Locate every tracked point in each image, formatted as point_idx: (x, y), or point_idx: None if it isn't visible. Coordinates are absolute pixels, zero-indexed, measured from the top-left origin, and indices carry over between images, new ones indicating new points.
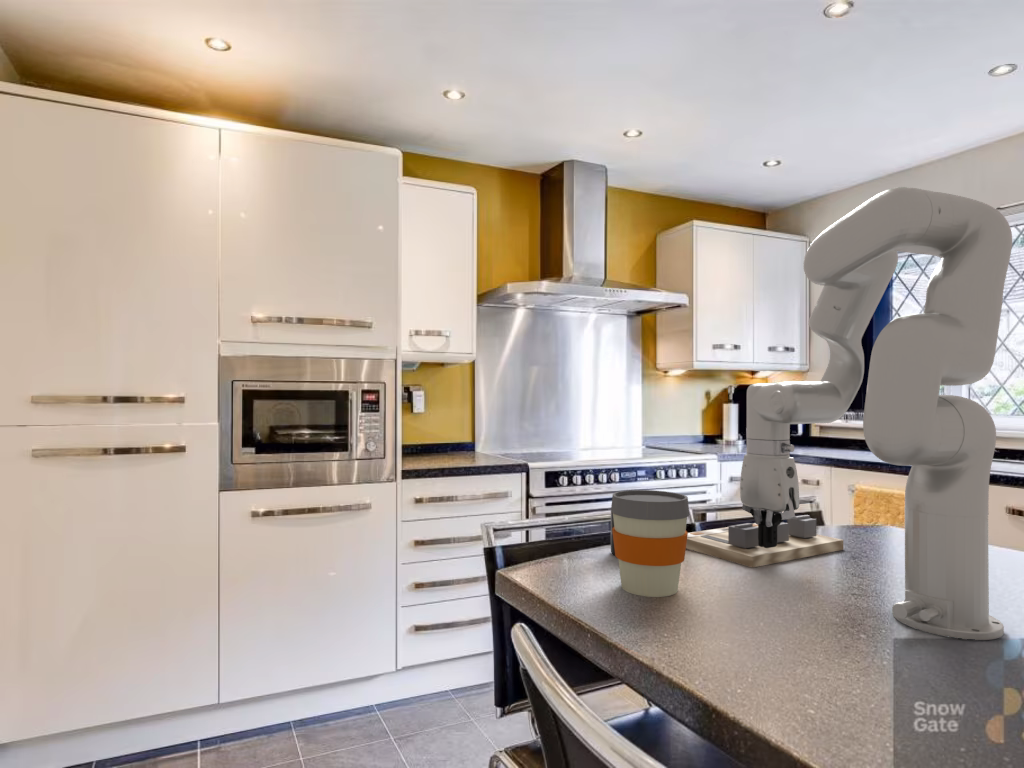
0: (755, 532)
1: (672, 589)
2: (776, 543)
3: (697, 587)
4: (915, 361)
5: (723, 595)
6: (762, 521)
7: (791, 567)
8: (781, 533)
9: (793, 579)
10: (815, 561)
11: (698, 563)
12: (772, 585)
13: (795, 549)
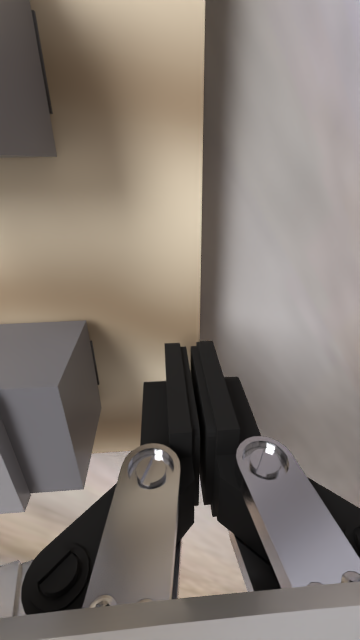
0: (72, 397)
1: None
2: (213, 347)
3: (235, 576)
4: None
5: None
6: (185, 530)
7: (269, 294)
8: (13, 54)
9: (346, 401)
10: (285, 64)
11: (80, 499)
12: (331, 475)
13: (202, 136)
